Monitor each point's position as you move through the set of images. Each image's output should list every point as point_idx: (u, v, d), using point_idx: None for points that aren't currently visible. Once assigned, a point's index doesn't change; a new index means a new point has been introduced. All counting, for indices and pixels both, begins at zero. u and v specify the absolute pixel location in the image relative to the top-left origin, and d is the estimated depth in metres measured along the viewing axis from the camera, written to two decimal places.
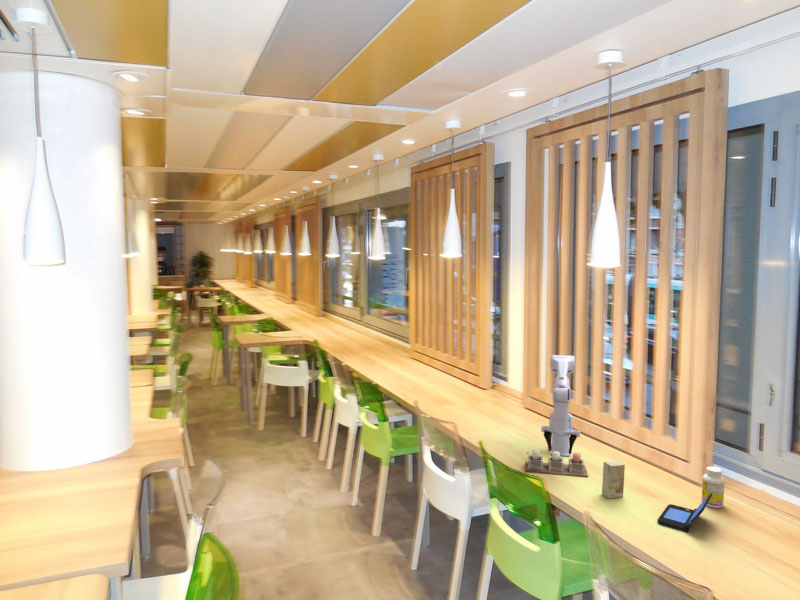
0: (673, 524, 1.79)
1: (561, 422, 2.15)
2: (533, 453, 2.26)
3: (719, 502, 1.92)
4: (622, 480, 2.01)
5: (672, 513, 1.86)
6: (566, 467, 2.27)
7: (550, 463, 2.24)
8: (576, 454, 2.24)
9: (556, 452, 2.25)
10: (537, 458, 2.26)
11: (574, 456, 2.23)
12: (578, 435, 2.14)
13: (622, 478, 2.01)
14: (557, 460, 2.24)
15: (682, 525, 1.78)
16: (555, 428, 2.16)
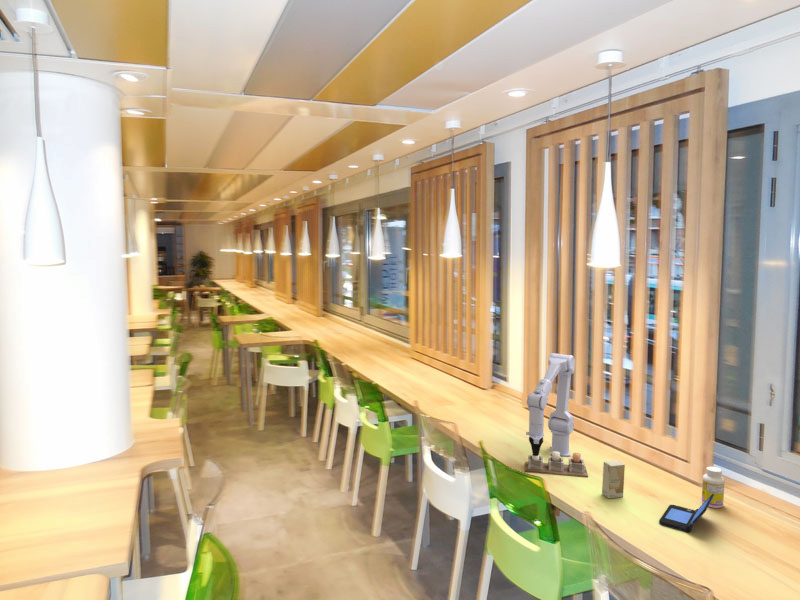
0: (675, 525, 1.79)
1: (529, 424, 2.26)
2: (533, 457, 2.27)
3: (719, 502, 1.92)
4: (622, 480, 2.01)
5: (674, 513, 1.86)
6: (566, 467, 2.27)
7: (550, 463, 2.24)
8: (576, 454, 2.24)
9: (556, 452, 2.25)
10: None
11: (574, 456, 2.23)
12: (533, 441, 2.20)
13: (622, 478, 2.01)
14: (557, 460, 2.24)
15: (684, 526, 1.78)
16: None
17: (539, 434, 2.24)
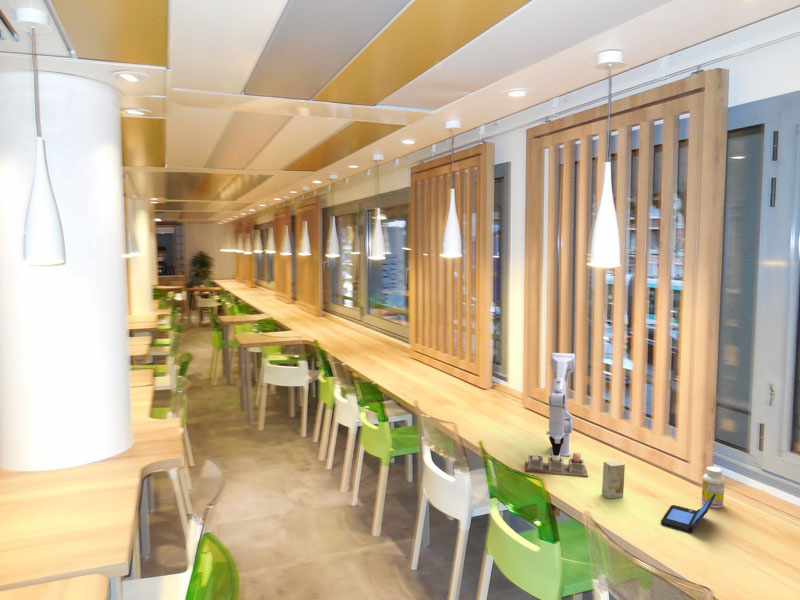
0: (677, 525, 1.78)
1: (549, 424, 2.24)
2: None
3: (719, 502, 1.92)
4: (622, 480, 2.01)
5: (675, 514, 1.86)
6: (566, 467, 2.27)
7: (550, 463, 2.24)
8: (576, 454, 2.24)
9: None
10: None
11: (574, 456, 2.23)
12: (554, 441, 2.18)
13: (622, 478, 2.01)
14: None
15: (686, 526, 1.78)
16: None
17: (560, 434, 2.22)
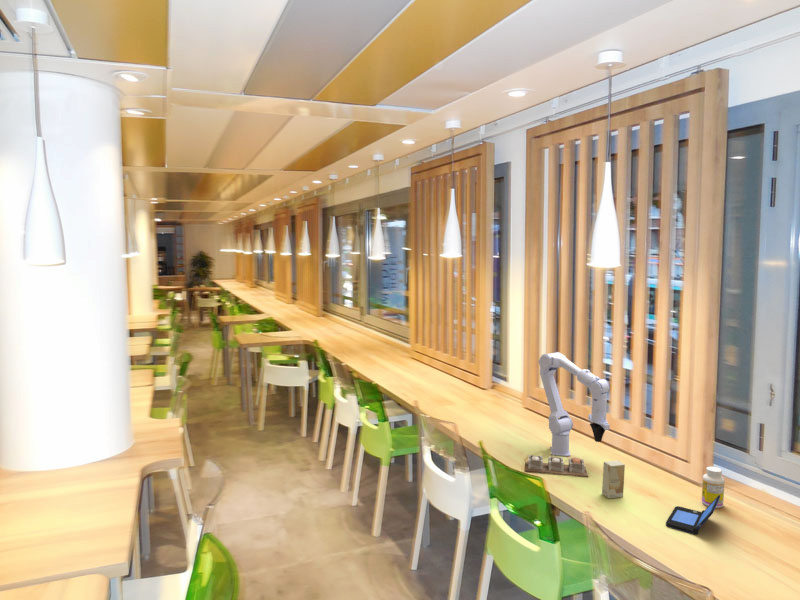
0: (682, 527, 1.77)
1: (593, 411, 2.27)
2: None
3: (719, 502, 1.92)
4: (622, 480, 2.01)
5: (680, 515, 1.85)
6: (566, 467, 2.27)
7: (550, 463, 2.24)
8: (575, 459, 2.24)
9: (556, 459, 2.26)
10: None
11: (574, 461, 2.23)
12: (604, 427, 2.22)
13: (622, 478, 2.01)
14: None
15: (691, 528, 1.77)
16: None
17: (604, 420, 2.26)
